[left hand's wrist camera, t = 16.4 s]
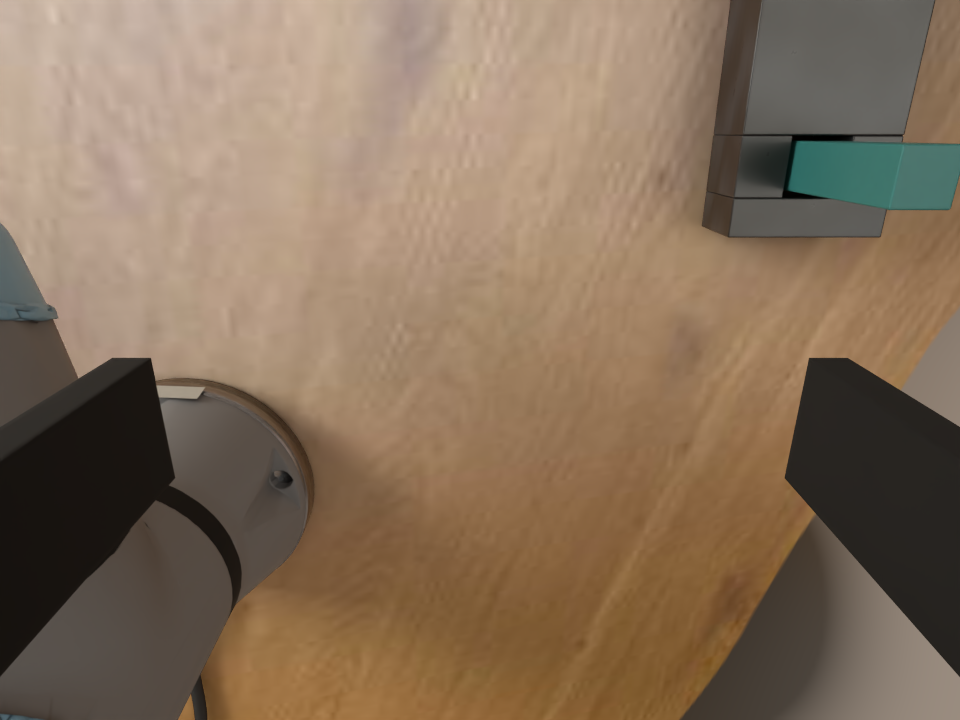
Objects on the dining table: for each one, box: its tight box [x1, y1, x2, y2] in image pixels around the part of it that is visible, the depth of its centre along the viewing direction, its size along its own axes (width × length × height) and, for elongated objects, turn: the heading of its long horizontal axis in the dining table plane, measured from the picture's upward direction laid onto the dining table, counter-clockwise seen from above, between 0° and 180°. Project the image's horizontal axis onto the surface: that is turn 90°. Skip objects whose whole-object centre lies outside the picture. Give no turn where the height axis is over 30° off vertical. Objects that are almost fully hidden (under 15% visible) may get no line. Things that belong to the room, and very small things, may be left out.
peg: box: [783, 140, 960, 210], centre depth 28 cm, size 2×2×12 cm
